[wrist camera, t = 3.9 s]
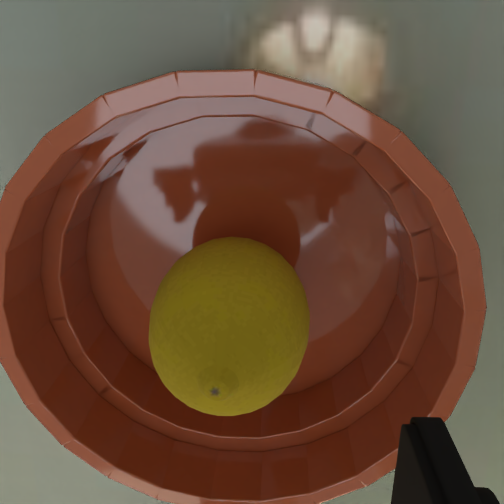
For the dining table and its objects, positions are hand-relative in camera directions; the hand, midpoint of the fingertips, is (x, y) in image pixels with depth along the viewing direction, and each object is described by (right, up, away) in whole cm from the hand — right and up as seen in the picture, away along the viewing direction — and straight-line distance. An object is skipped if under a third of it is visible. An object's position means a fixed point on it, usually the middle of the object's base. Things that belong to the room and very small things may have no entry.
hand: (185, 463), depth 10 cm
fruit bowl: (+1, +4, +10) cm, 11 cm away
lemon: (+1, +4, +10) cm, 11 cm away
